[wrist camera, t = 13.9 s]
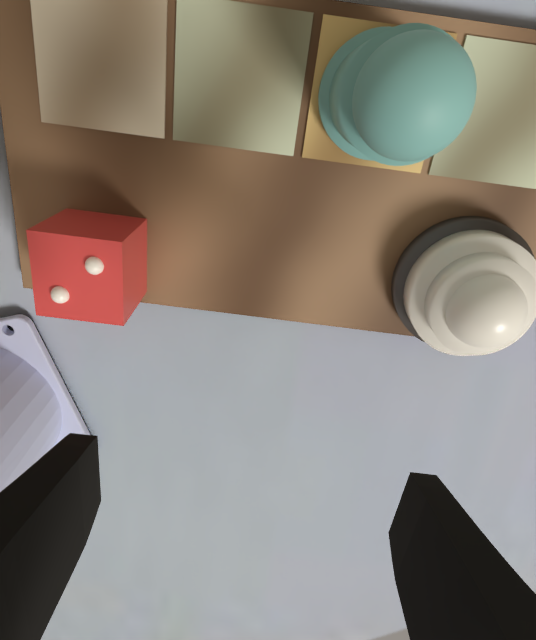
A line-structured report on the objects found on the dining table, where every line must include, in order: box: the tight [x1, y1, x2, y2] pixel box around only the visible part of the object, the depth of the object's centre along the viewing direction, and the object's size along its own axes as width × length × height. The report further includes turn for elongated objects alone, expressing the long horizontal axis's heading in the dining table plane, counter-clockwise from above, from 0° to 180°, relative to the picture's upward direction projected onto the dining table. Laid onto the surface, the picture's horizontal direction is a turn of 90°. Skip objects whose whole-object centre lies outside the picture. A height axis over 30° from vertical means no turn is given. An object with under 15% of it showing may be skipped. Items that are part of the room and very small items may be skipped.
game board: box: [0, 0, 536, 341], centre depth 16 cm, size 20×11×2 cm, turn 83°
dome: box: [403, 230, 536, 356], centre depth 16 cm, size 5×5×3 cm
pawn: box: [318, 23, 477, 166], centre depth 12 cm, size 4×4×6 cm
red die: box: [26, 208, 147, 326], centre depth 16 cm, size 3×3×3 cm
